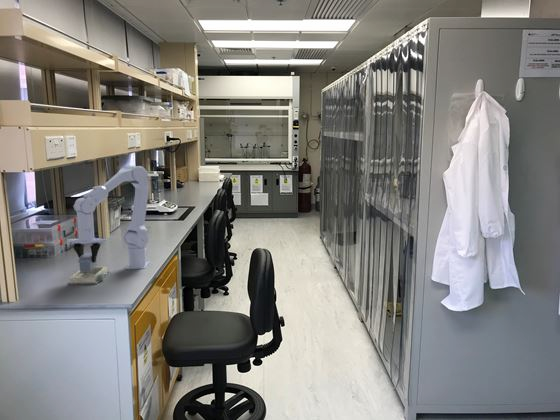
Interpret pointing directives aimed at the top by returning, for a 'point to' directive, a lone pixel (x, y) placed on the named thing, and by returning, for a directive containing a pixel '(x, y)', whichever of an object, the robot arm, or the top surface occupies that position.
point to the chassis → (89, 276)
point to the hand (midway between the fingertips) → (88, 262)
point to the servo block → (86, 262)
